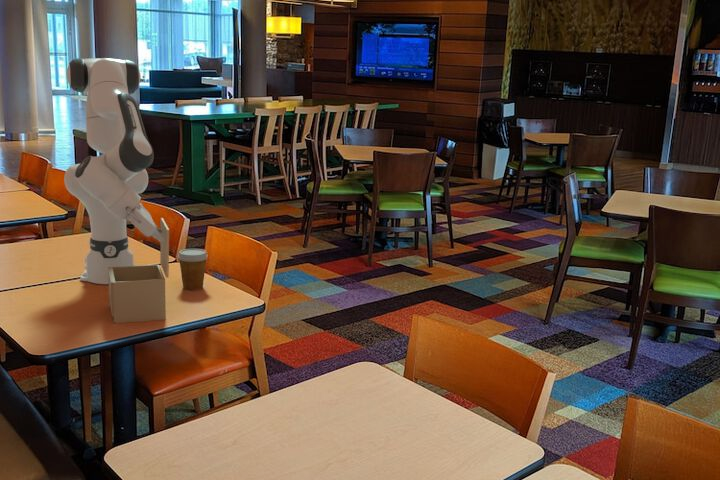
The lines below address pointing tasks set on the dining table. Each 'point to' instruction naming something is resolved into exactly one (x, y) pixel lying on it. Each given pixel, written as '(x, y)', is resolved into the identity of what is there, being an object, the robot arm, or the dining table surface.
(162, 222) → the lid flap
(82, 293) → the dining table surface
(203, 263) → the disposable coffee cup
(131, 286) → the carton
